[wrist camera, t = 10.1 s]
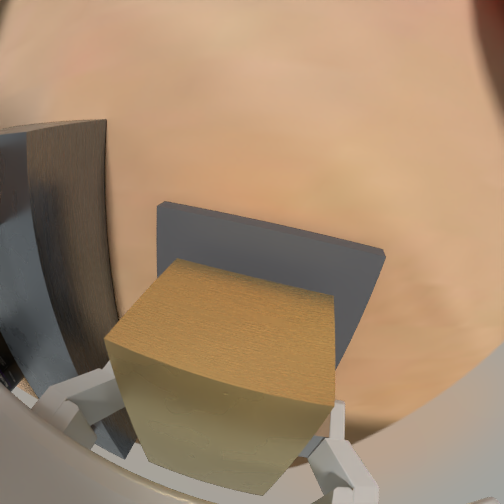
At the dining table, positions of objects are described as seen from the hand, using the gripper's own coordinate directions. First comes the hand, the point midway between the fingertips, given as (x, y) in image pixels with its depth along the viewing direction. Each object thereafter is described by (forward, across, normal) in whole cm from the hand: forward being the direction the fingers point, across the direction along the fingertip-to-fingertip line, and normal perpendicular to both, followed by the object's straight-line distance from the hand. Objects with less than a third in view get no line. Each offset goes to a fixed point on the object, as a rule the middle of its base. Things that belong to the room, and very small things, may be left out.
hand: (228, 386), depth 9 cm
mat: (+3, 0, 0) cm, 3 cm away
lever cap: (+1, 0, 0) cm, 1 cm away
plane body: (+3, +11, +3) cm, 12 cm away
